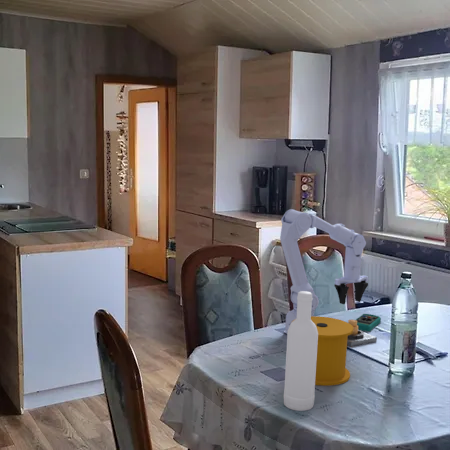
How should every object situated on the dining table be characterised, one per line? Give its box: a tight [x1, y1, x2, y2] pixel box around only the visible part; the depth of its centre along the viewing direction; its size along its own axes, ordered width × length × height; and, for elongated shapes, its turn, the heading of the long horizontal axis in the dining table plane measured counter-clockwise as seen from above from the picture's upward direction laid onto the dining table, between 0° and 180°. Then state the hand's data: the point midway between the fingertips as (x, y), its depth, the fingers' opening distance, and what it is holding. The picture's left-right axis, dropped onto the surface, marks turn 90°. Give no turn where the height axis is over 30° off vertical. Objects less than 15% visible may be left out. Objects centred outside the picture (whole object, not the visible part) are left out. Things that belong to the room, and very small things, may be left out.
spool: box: [291, 315, 353, 387], centre depth 183 cm, size 18×18×15 cm
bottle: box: [283, 291, 318, 412], centre depth 160 cm, size 8×8×30 cm
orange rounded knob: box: [347, 319, 358, 335], centre depth 216 cm, size 4×4×5 cm
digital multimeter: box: [355, 313, 382, 333], centre depth 233 cm, size 7×15×3 cm, turn 150°
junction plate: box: [347, 330, 378, 347], centre depth 217 cm, size 12×12×2 cm
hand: (350, 302), depth 226 cm, fingers open, 7 cm apart
